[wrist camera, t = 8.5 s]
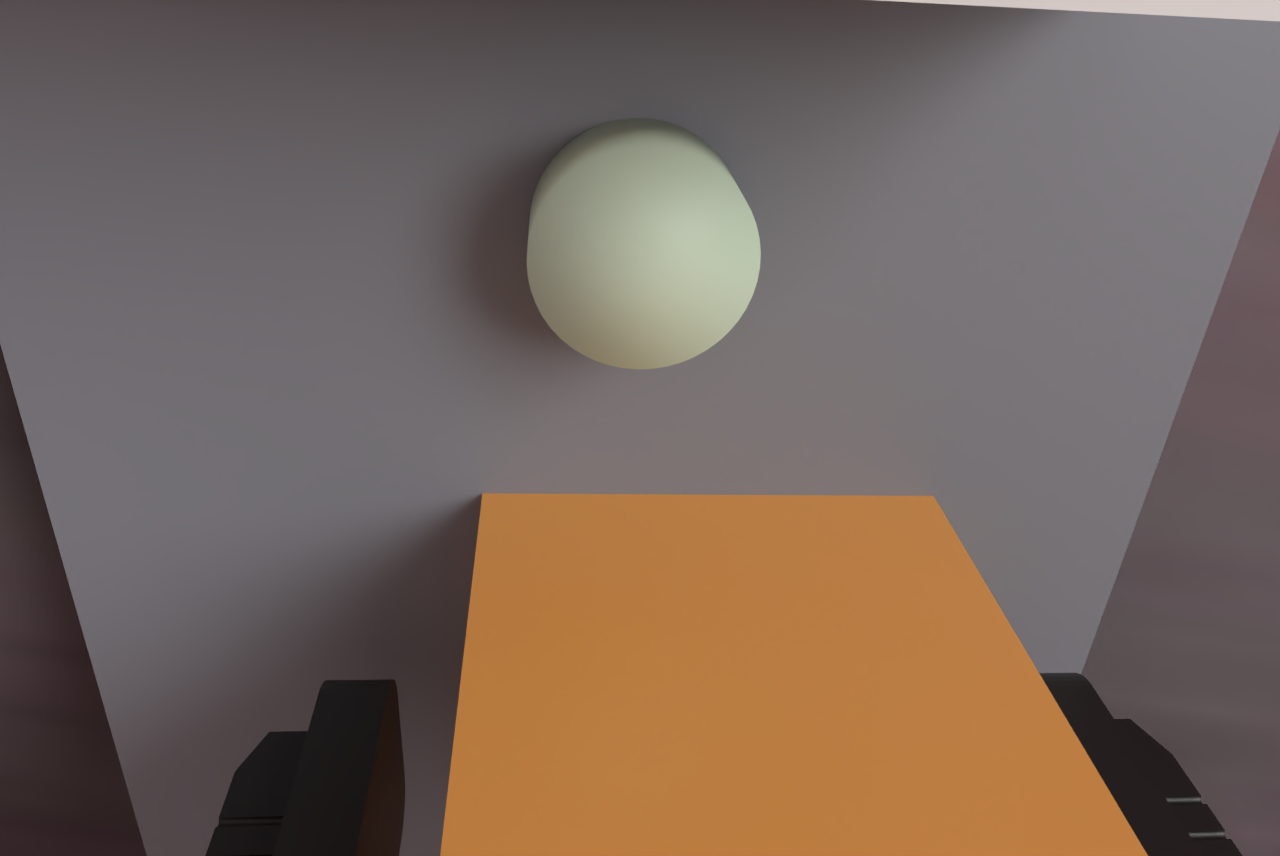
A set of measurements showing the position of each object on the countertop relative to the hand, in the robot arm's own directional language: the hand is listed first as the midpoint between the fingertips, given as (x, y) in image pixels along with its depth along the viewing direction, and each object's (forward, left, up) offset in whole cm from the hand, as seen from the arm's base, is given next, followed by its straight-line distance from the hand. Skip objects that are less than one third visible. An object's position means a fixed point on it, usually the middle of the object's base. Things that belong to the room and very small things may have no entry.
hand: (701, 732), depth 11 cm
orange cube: (0, 0, -1) cm, 1 cm away
